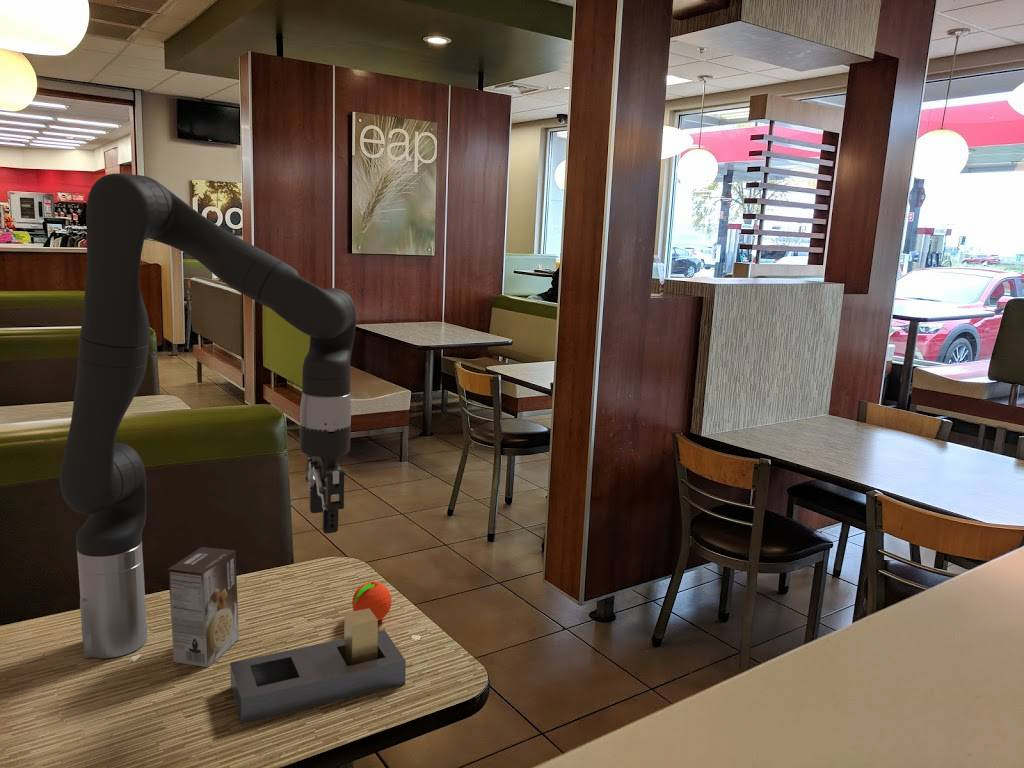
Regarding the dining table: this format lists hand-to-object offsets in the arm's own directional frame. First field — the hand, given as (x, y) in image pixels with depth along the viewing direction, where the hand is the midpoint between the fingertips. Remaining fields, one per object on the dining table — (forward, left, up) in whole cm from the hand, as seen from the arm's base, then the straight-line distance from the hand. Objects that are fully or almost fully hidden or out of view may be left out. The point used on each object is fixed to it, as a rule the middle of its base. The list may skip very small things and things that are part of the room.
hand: (323, 521), depth 120 cm
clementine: (+10, +9, -24) cm, 27 cm away
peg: (+4, -7, -23) cm, 25 cm away
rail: (-3, -7, -23) cm, 25 cm away
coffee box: (-17, +10, -24) cm, 30 cm away
